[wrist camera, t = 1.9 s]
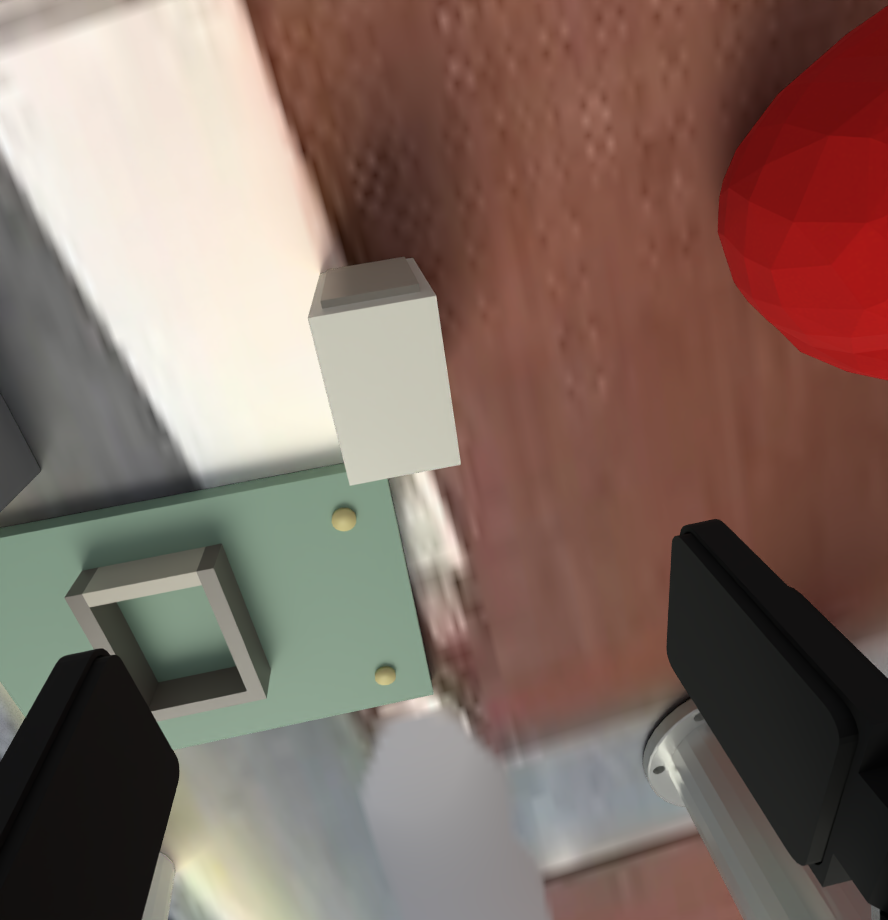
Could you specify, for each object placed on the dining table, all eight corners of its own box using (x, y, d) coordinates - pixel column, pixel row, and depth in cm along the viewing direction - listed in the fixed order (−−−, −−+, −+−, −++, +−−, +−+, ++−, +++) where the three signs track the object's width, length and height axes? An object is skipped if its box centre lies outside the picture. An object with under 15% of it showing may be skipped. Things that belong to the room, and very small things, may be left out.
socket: (222, 543, 29) (213, 568, 28) (271, 669, 33) (266, 698, 32) (81, 570, 29) (64, 597, 27) (148, 695, 33) (137, 725, 31)
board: (383, 455, 29) (384, 467, 28) (431, 681, 37) (434, 698, 36) (-75, 542, 28) (-93, 558, 27) (71, 757, 36) (62, 777, 34)
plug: (411, 251, 25) (434, 287, 18) (433, 387, 28) (460, 464, 21) (318, 267, 25) (305, 310, 18) (350, 403, 28) (349, 485, 21)
